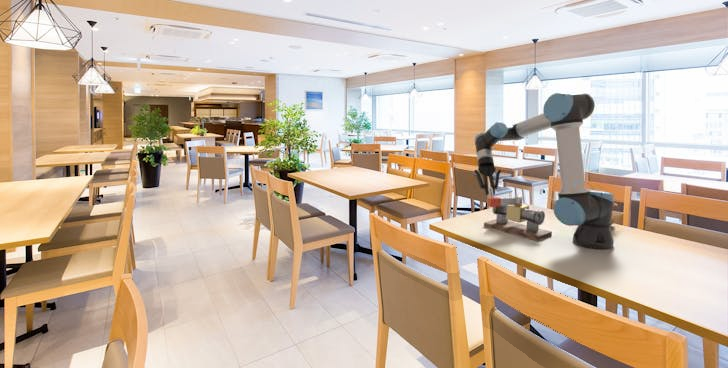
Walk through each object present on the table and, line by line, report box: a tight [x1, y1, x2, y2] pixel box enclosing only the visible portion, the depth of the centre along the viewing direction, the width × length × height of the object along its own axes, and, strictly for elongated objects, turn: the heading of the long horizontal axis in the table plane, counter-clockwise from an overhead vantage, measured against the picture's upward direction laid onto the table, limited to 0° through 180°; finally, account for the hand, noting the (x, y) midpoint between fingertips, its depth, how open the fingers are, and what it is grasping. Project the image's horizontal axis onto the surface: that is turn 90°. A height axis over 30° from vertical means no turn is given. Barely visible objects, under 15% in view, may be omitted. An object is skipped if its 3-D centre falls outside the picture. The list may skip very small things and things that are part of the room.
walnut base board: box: [483, 218, 553, 242], centre depth 186 cm, size 28×12×2 cm, turn 37°
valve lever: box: [487, 195, 524, 208], centre depth 182 cm, size 17×4×4 cm, turn 102°
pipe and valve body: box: [492, 203, 546, 233], centre depth 184 cm, size 23×7×10 cm, turn 37°
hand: (491, 200), depth 183 cm, fingers closed
